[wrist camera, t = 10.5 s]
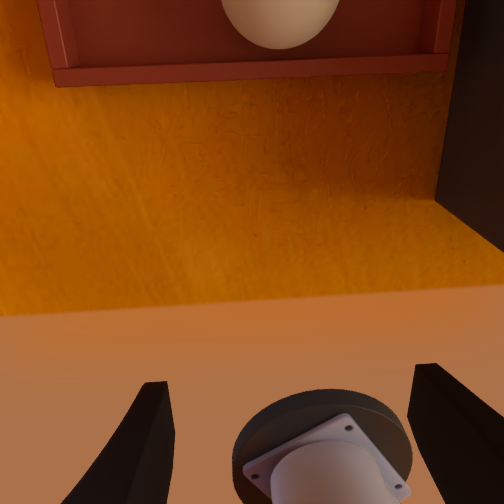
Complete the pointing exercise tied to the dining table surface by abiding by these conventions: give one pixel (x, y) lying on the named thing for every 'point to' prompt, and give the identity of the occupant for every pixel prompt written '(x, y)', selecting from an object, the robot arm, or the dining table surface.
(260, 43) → the ball
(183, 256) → the dining table surface
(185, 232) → the dining table surface
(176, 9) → the tray
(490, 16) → the box
